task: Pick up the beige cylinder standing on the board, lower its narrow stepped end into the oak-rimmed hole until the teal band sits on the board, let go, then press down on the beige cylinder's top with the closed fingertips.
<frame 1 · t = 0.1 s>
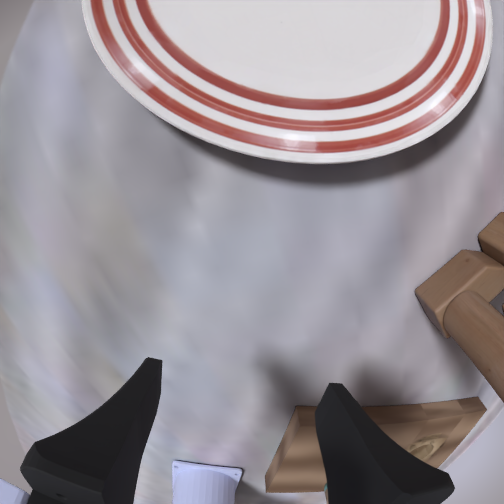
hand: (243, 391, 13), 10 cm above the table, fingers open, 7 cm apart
board: (378, 444, 30), on the table
wooden block: (465, 262, 22), on the table
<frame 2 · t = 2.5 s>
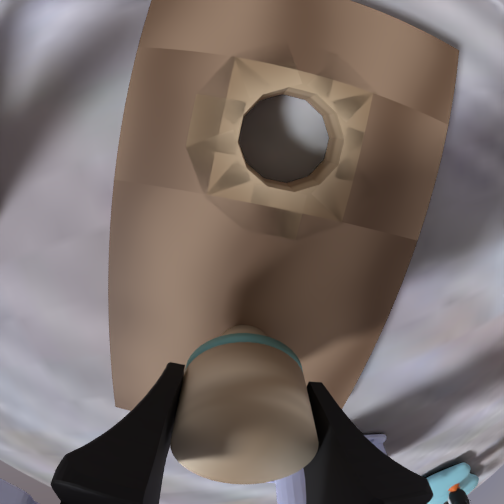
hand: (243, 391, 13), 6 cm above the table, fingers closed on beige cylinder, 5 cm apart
penguin figurine: (441, 483, 31), on the table
board: (262, 236, 16), on the table
beige cylinder: (243, 346, 16), point 2 cm above the table, touching board, gripper
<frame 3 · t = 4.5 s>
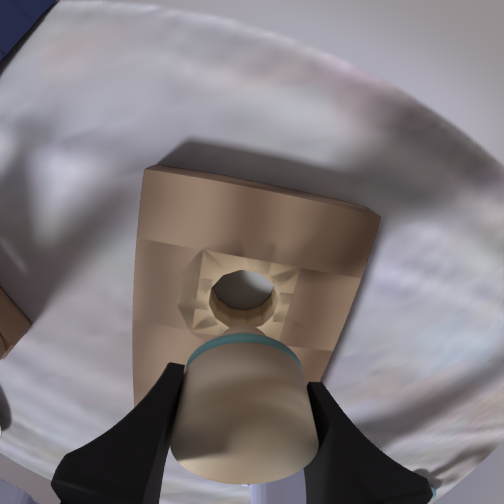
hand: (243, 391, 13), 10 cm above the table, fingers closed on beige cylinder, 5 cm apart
board: (230, 340, 24), on the table
beige cylinder: (243, 346, 16), point 7 cm above the table, touching gripper
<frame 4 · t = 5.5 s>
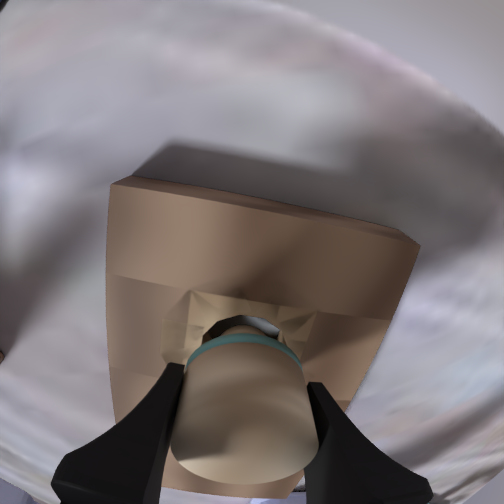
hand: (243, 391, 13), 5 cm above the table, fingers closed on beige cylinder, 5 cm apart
board: (228, 385, 19), on the table
beige cylinder: (243, 346, 16), point 2 cm above the table, touching gripper
when the fingers open (3 cm above the table, at t = 6.5 s): beige cylinder stays where it is, resting on board.
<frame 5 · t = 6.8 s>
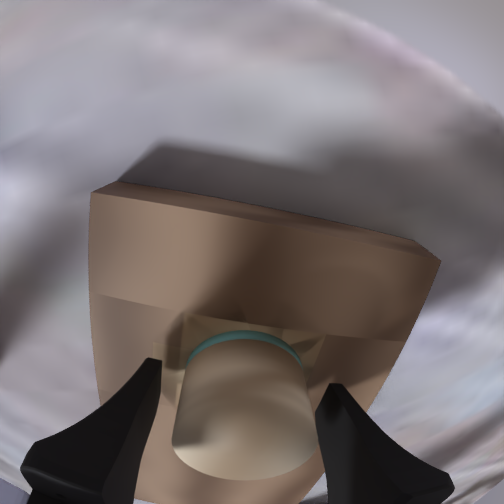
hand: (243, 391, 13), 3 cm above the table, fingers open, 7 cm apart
board: (227, 406, 18), on the table
beige cylinder: (243, 343, 16), resting on board
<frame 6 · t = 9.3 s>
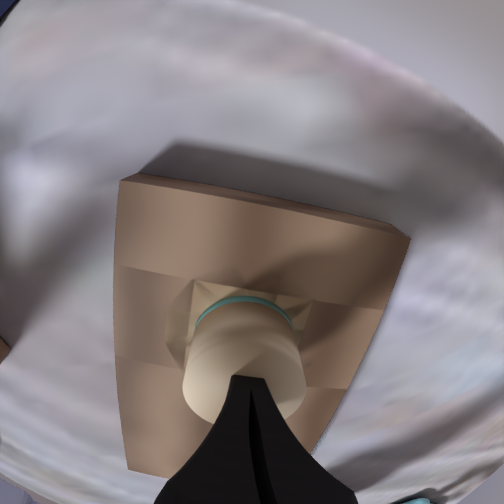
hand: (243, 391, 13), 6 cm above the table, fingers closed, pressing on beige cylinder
board: (229, 375, 20), on the table
beige cylinder: (243, 314, 19), resting on board, touching gripper
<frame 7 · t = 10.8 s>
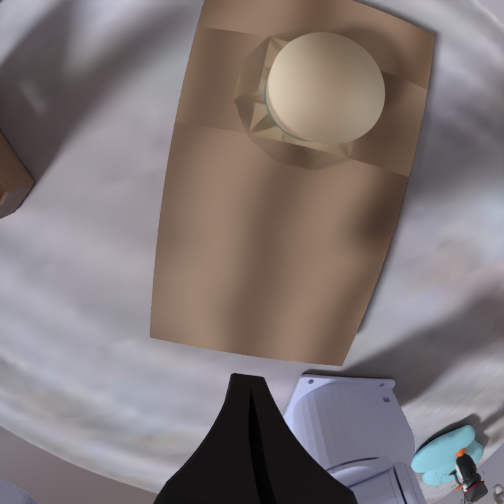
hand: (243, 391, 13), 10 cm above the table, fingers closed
penguin figurine: (448, 452, 34), on the table
board: (286, 176, 20), on the table
beige cylinder: (303, 100, 18), resting on board
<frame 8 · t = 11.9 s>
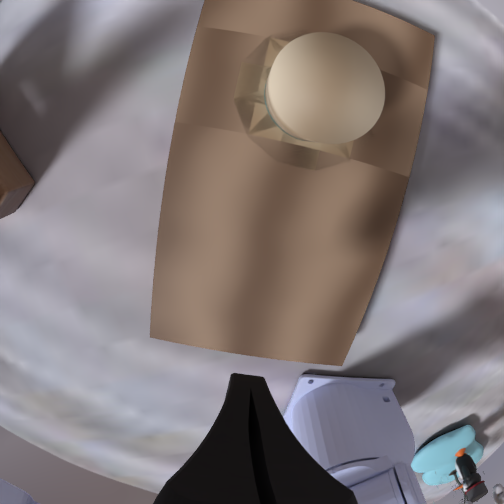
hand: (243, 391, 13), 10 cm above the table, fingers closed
penguin figurine: (448, 452, 34), on the table
board: (286, 176, 20), on the table
beige cylinder: (303, 100, 18), resting on board
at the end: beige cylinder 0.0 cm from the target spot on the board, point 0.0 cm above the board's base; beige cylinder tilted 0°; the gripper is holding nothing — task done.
